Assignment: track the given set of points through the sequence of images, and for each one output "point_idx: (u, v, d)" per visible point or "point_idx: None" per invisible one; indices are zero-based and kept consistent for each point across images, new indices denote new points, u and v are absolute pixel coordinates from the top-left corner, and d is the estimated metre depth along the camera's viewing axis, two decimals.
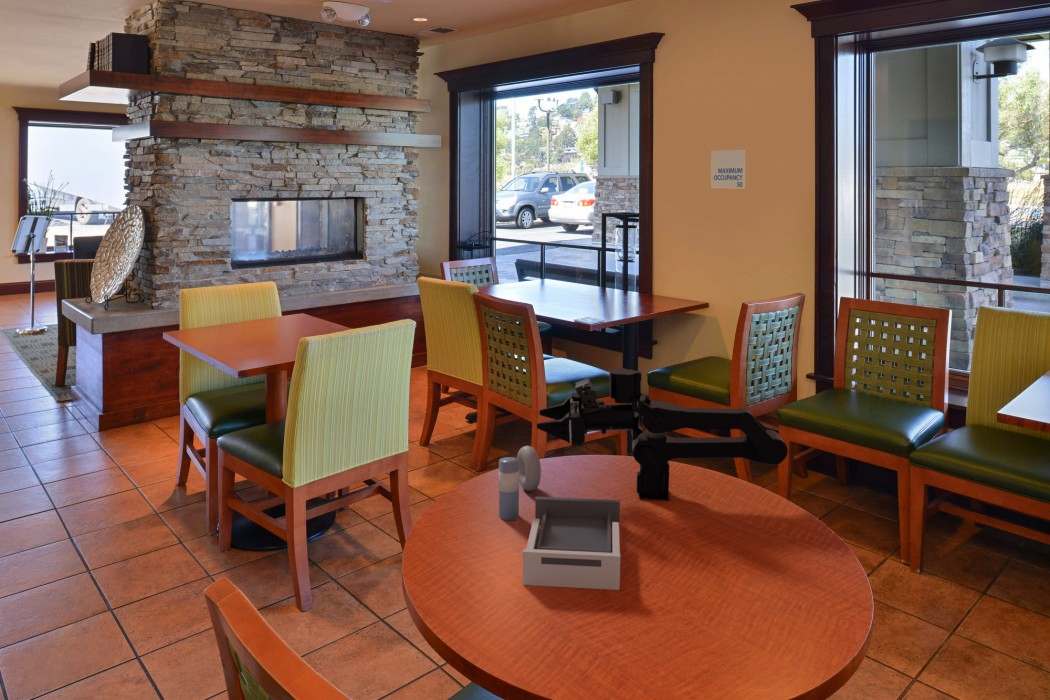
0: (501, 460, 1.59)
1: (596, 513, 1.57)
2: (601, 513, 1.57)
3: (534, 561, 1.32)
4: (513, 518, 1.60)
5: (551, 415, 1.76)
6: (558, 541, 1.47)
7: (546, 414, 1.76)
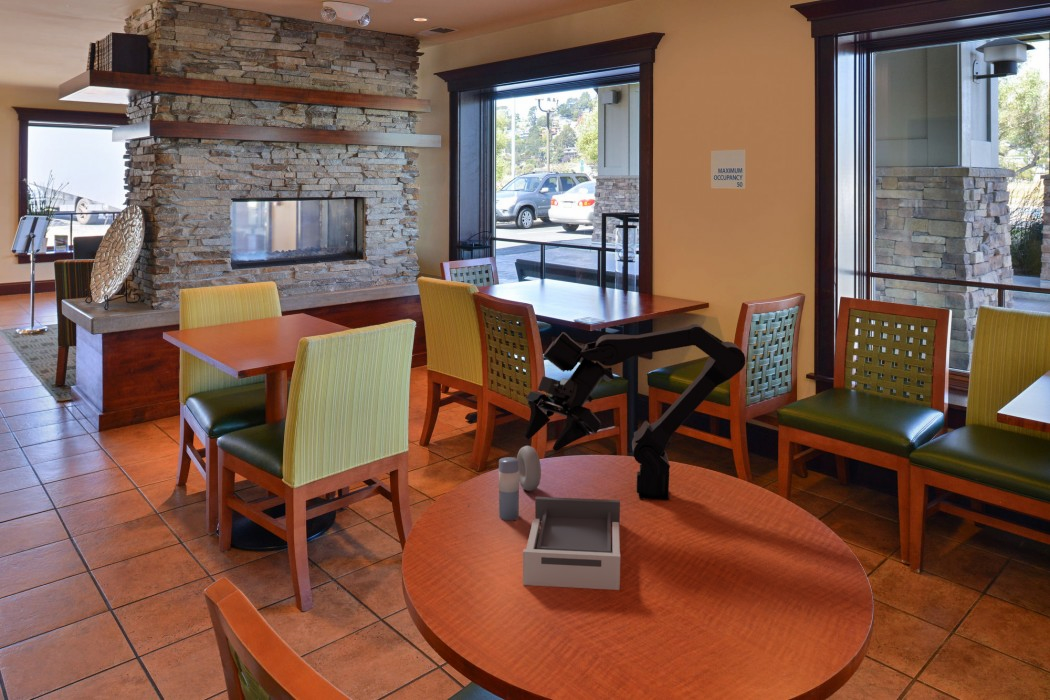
0: (501, 460, 1.59)
1: (596, 513, 1.57)
2: (601, 513, 1.57)
3: (534, 561, 1.32)
4: (513, 518, 1.60)
5: (535, 430, 1.68)
6: (558, 541, 1.47)
7: (532, 434, 1.68)
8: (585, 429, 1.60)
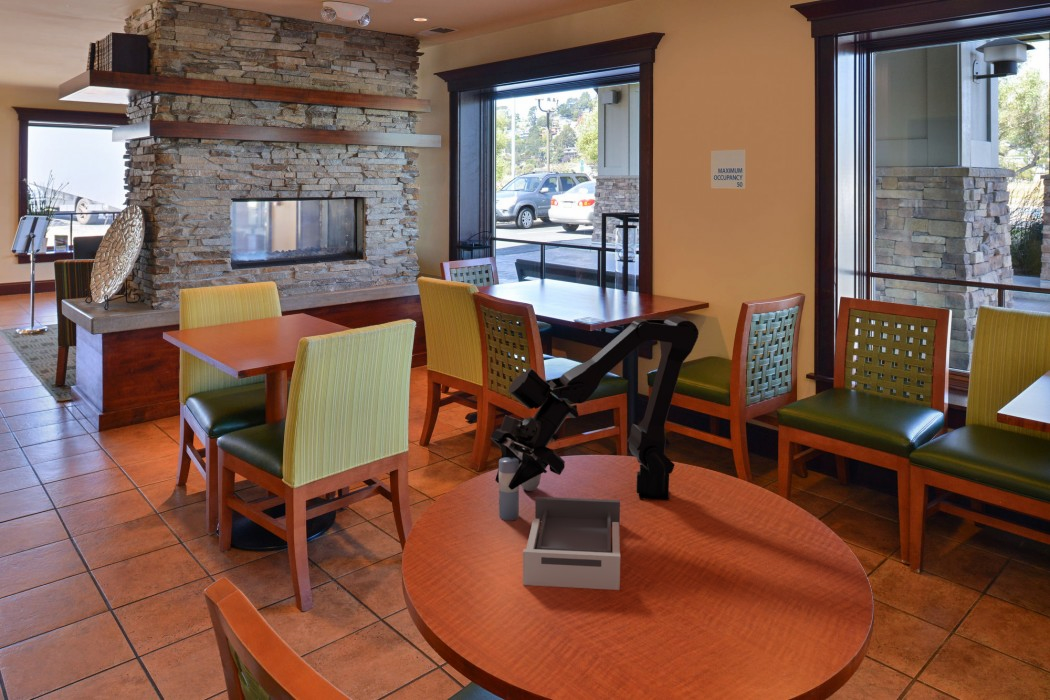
0: (501, 460, 1.59)
1: (596, 513, 1.57)
2: (601, 513, 1.57)
3: (534, 561, 1.32)
4: (513, 518, 1.60)
5: None
6: (558, 541, 1.47)
7: None
8: (541, 467, 1.57)
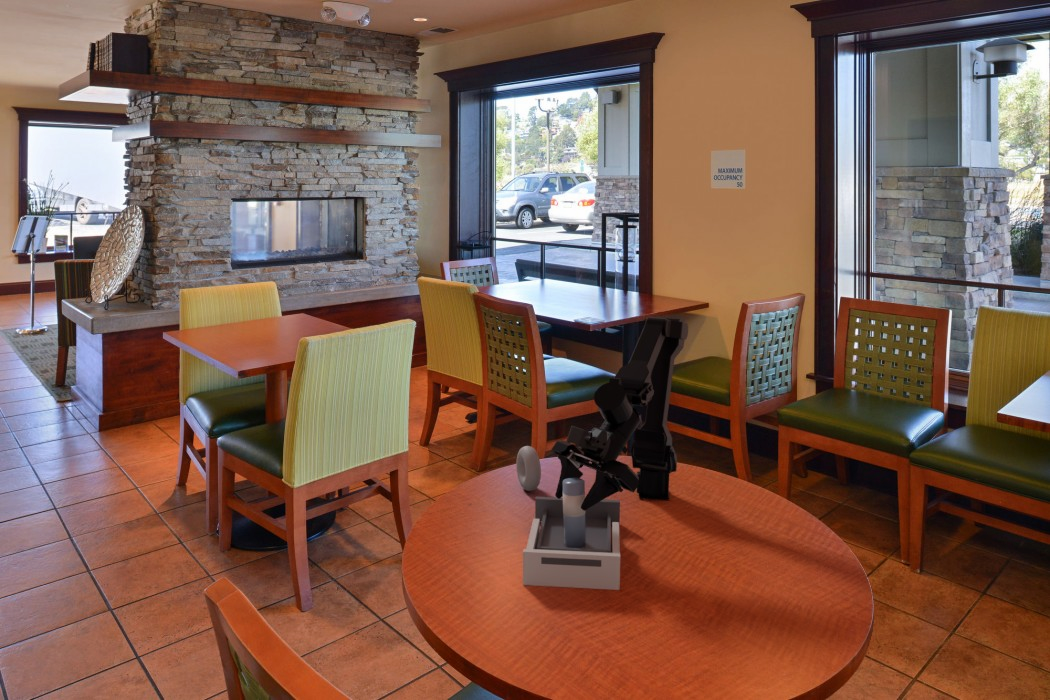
0: (565, 481, 1.44)
1: (596, 513, 1.57)
2: (601, 513, 1.57)
3: (534, 561, 1.32)
4: (580, 545, 1.44)
5: None
6: (558, 541, 1.47)
7: None
8: (617, 485, 1.41)
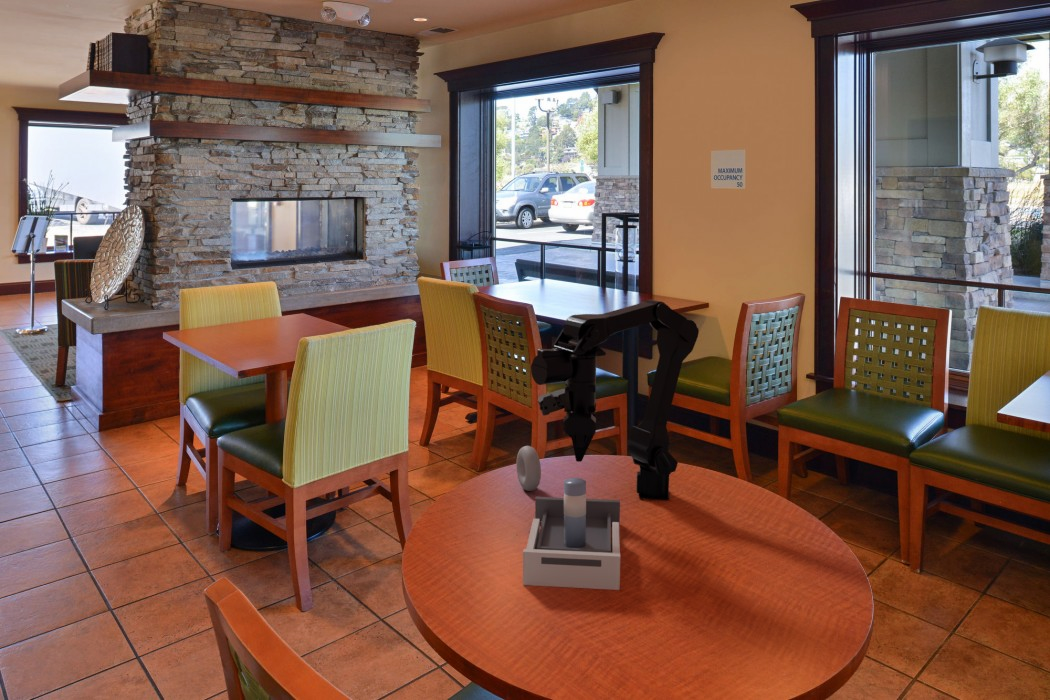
0: (566, 481, 1.44)
1: (596, 513, 1.57)
2: (601, 513, 1.57)
3: (534, 561, 1.32)
4: (580, 545, 1.44)
5: None
6: (558, 541, 1.47)
7: None
8: (583, 433, 1.51)
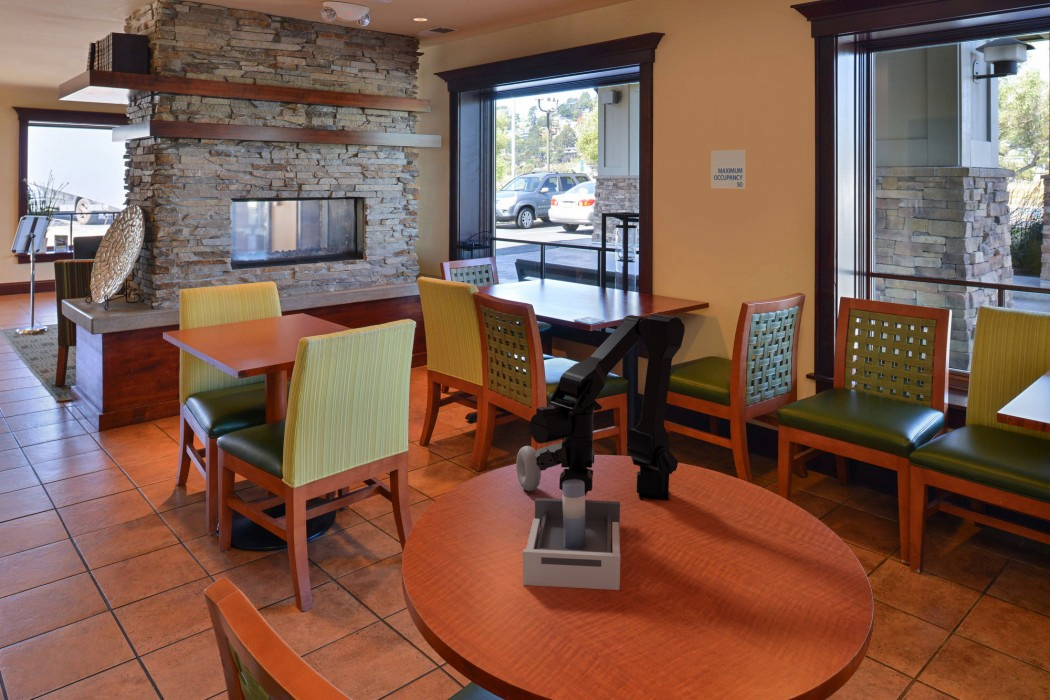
0: (565, 483, 1.43)
1: (596, 515, 1.56)
2: (601, 514, 1.56)
3: (534, 561, 1.32)
4: (579, 547, 1.43)
5: None
6: (558, 543, 1.46)
7: None
8: None
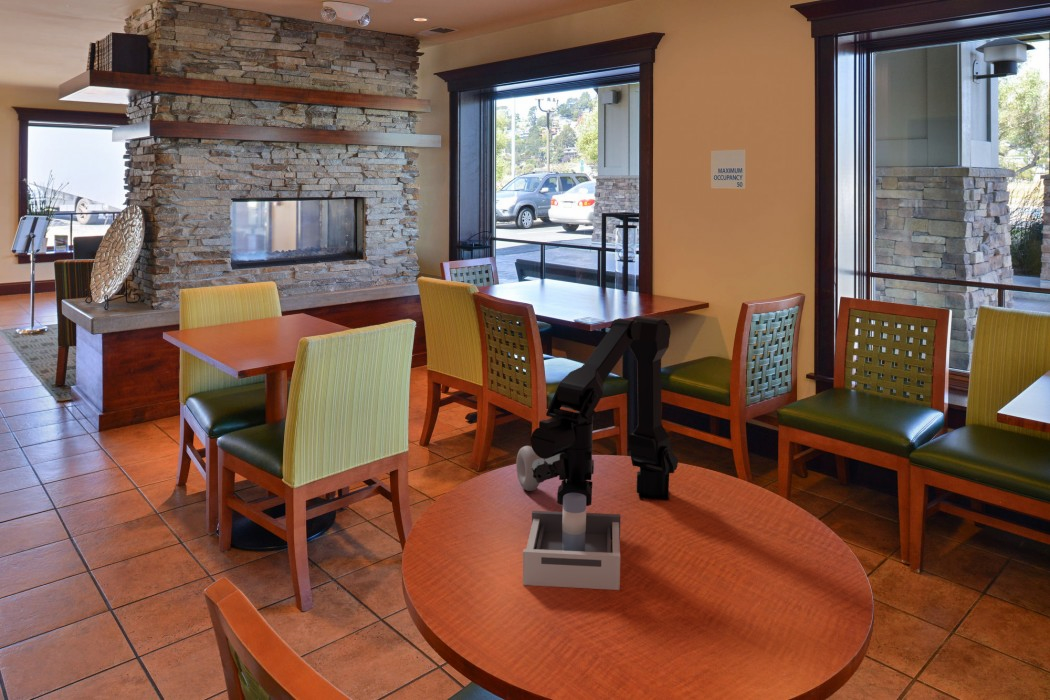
0: (566, 496, 1.36)
1: (596, 528, 1.50)
2: (601, 528, 1.50)
3: (534, 561, 1.32)
4: None
5: None
6: None
7: None
8: None
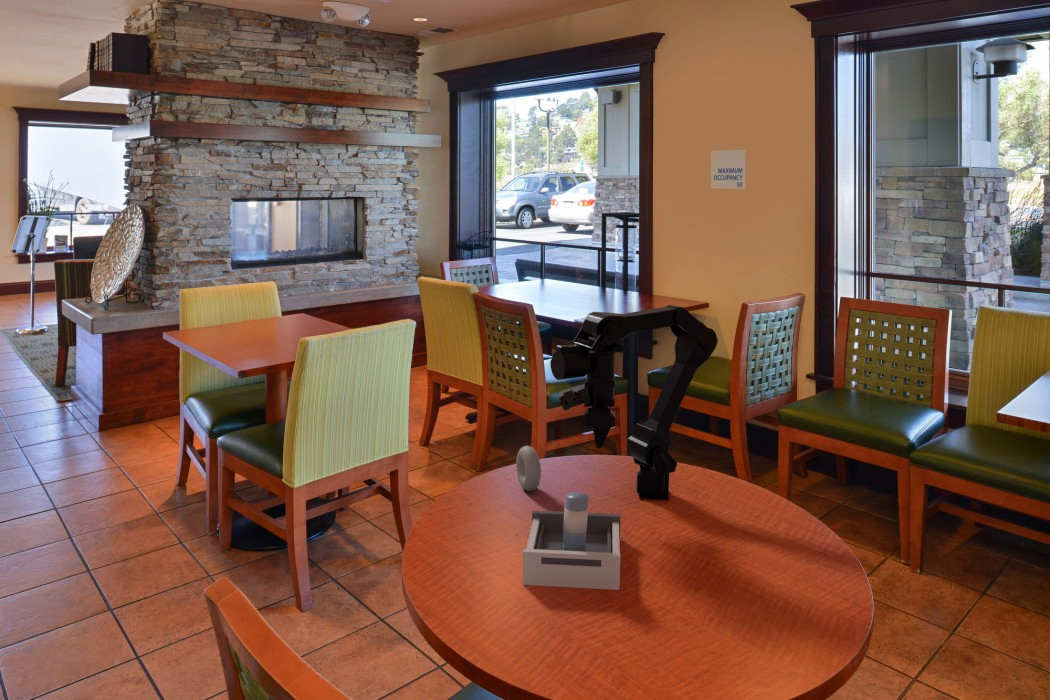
0: (568, 495, 1.37)
1: (596, 528, 1.50)
2: (601, 528, 1.50)
3: (534, 561, 1.32)
4: None
5: None
6: None
7: None
8: None
